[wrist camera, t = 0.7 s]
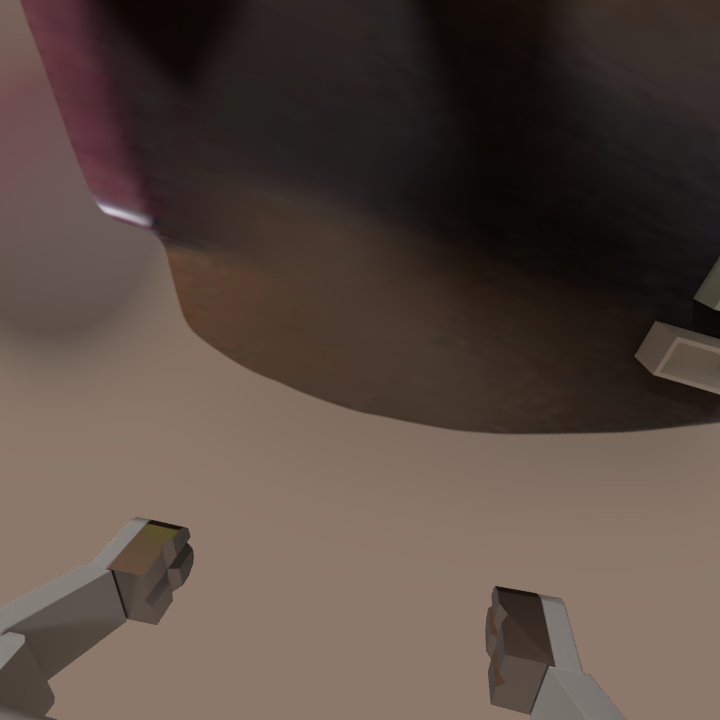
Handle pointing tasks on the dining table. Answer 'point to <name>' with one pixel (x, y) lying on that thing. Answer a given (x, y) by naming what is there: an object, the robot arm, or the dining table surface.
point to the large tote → (710, 288)
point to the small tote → (682, 356)
